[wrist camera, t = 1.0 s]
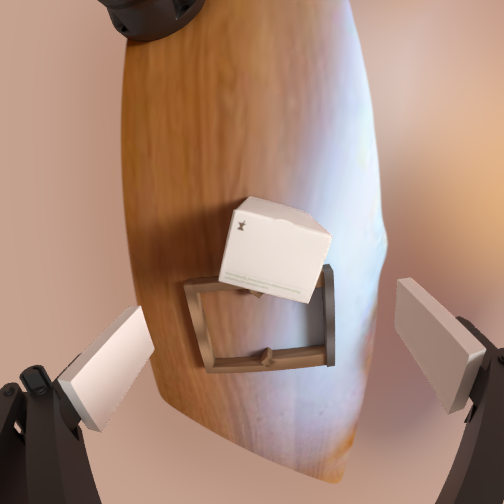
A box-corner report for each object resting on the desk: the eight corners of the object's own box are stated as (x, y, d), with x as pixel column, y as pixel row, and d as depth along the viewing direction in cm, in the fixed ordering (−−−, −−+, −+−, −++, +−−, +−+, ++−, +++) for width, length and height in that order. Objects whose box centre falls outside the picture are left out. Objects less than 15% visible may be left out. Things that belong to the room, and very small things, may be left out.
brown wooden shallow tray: (188, 279, 40) (182, 287, 38) (329, 263, 38) (333, 271, 35) (210, 364, 44) (206, 375, 41) (331, 354, 42) (334, 365, 39)
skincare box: (236, 239, 38) (211, 282, 23) (248, 191, 36) (230, 205, 21) (296, 256, 38) (308, 309, 23) (310, 209, 36) (334, 235, 21)
